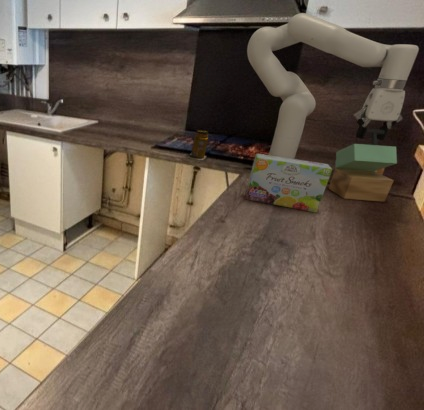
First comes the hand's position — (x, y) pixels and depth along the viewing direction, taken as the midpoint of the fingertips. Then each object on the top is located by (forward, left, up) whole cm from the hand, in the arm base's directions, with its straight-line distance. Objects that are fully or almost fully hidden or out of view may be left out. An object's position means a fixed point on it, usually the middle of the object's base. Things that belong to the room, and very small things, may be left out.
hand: (369, 138), depth 126 cm
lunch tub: (0, -3, -9) cm, 10 cm away
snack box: (-33, -18, -20) cm, 43 cm away
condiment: (-50, +31, -20) cm, 62 cm away
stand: (0, -4, -20) cm, 20 cm away
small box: (+17, +16, -20) cm, 31 cm away
